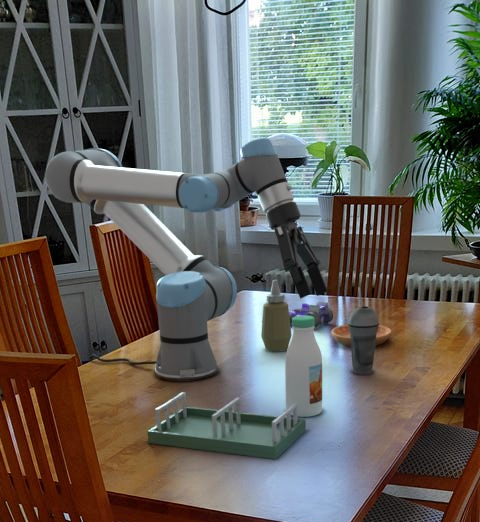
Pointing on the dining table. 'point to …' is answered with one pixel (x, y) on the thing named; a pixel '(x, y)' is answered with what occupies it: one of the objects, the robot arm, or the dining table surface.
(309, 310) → the toy race car
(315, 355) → the milk bottle
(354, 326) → the beverage cup
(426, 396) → the dining table surface
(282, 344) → the squeeze bottle
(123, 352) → the dining table surface
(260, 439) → the drying rack
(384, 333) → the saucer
